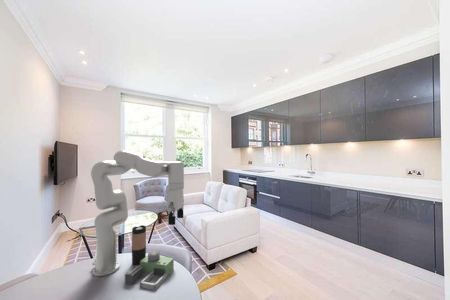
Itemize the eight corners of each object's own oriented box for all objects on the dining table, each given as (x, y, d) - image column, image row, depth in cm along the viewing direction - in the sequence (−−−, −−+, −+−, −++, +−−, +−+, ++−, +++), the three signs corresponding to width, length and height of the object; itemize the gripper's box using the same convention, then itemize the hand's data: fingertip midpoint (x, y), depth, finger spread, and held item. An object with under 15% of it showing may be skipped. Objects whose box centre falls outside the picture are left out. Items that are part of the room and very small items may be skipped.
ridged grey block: (124, 283, 92) (124, 273, 92) (135, 274, 98) (135, 265, 99) (132, 285, 90) (132, 274, 91) (142, 276, 97) (142, 266, 97)
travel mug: (140, 266, 106) (140, 230, 107) (128, 265, 107) (129, 229, 108) (148, 259, 113) (148, 225, 114) (137, 258, 115) (137, 224, 116)
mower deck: (126, 283, 91) (126, 265, 91) (148, 265, 107) (148, 249, 107) (155, 289, 87) (155, 269, 87) (173, 269, 102) (173, 252, 103)
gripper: (176, 183, 102) (176, 215, 101) (160, 189, 85) (160, 227, 84) (189, 183, 101) (189, 216, 100) (175, 189, 84) (176, 227, 83)
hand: (176, 221), depth 92 cm, fingers open, 9 cm apart
